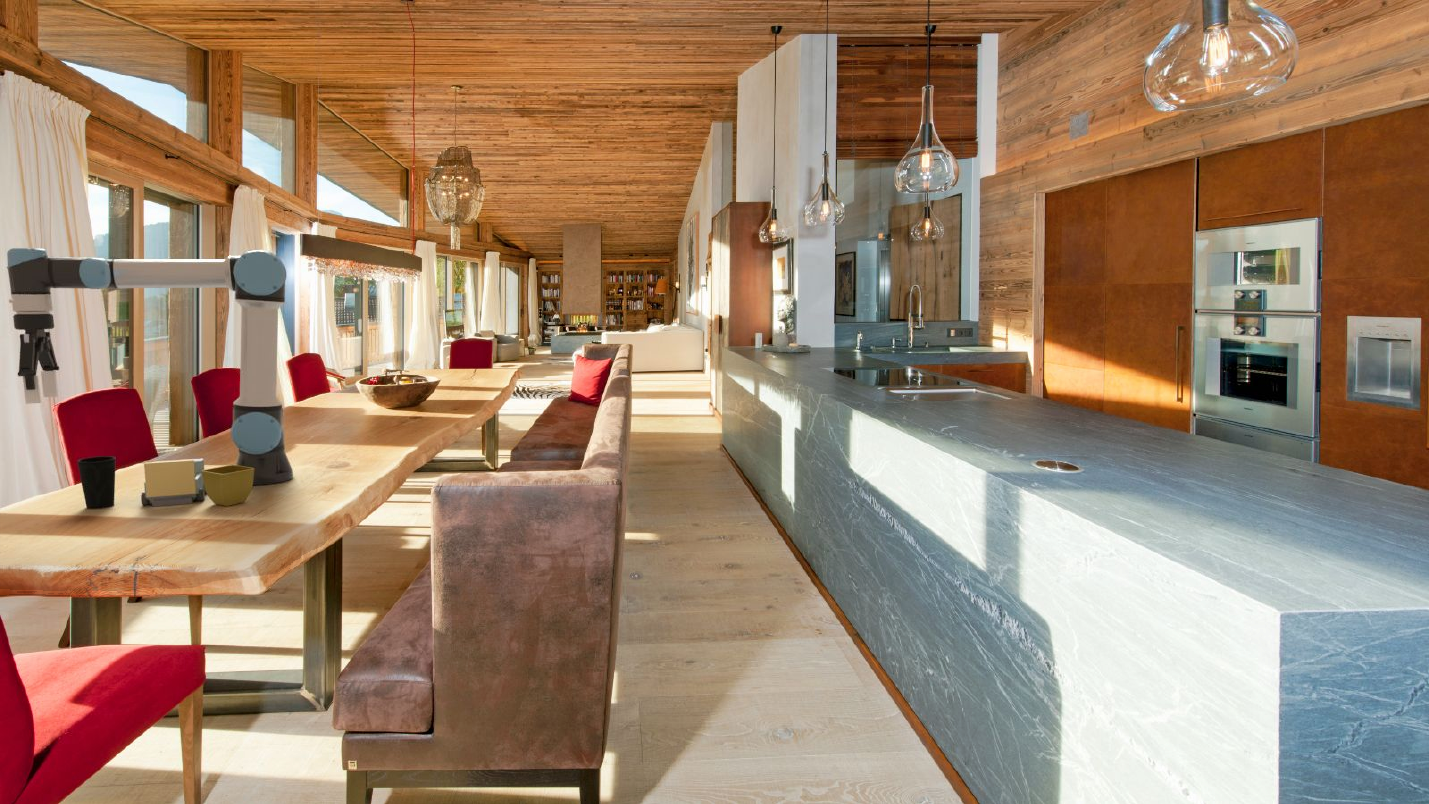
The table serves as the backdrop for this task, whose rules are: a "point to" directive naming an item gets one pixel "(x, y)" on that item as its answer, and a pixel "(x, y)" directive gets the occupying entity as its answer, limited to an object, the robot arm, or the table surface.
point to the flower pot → (228, 484)
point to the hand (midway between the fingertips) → (42, 400)
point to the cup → (98, 481)
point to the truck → (181, 500)
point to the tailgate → (170, 479)
